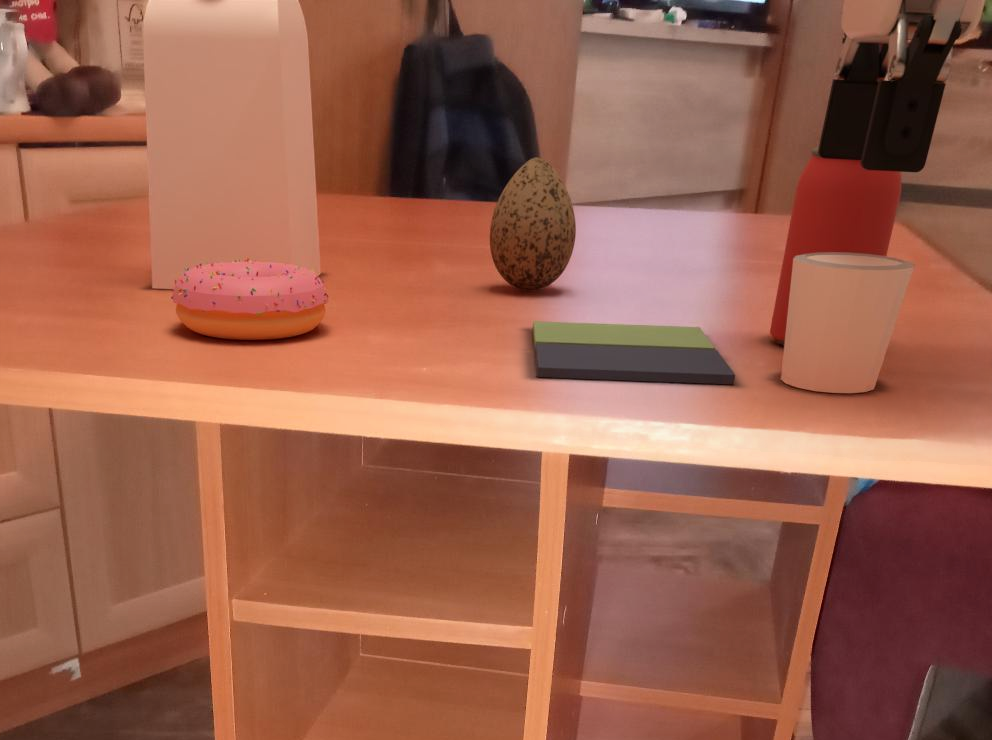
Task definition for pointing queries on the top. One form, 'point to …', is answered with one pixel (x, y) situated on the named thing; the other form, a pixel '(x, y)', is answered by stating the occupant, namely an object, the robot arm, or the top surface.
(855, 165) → the beer can
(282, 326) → the doughnut
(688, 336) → the sage mat
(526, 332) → the top surface
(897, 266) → the cup
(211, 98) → the milk
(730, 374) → the slate mat
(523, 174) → the decorative egg
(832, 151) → the robot arm
